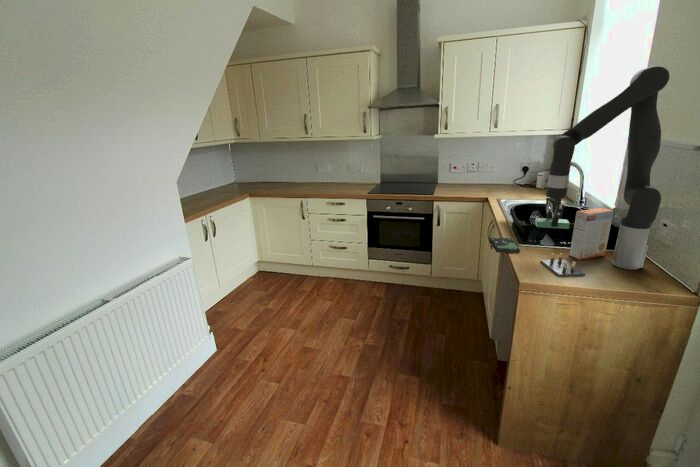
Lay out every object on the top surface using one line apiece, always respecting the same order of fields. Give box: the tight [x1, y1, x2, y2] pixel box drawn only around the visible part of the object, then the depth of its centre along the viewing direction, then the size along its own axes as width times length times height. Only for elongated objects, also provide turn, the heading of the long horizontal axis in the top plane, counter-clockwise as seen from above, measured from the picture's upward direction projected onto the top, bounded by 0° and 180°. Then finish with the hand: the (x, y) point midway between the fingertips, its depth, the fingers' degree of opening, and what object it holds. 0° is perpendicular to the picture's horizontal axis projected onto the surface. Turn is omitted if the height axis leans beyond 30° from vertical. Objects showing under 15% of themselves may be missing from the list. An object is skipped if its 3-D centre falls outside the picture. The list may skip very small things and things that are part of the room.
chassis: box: [540, 252, 586, 278], centre depth 138 cm, size 10×14×5 cm
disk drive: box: [489, 237, 521, 254], centre depth 164 cm, size 10×3×15 cm
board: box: [534, 217, 571, 230], centre depth 146 cm, size 12×6×2 cm, turn 69°
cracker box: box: [568, 207, 615, 261], centre depth 147 cm, size 14×6×21 cm, turn 105°
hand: (551, 224), depth 146 cm, fingers closed on board, 6 cm apart
